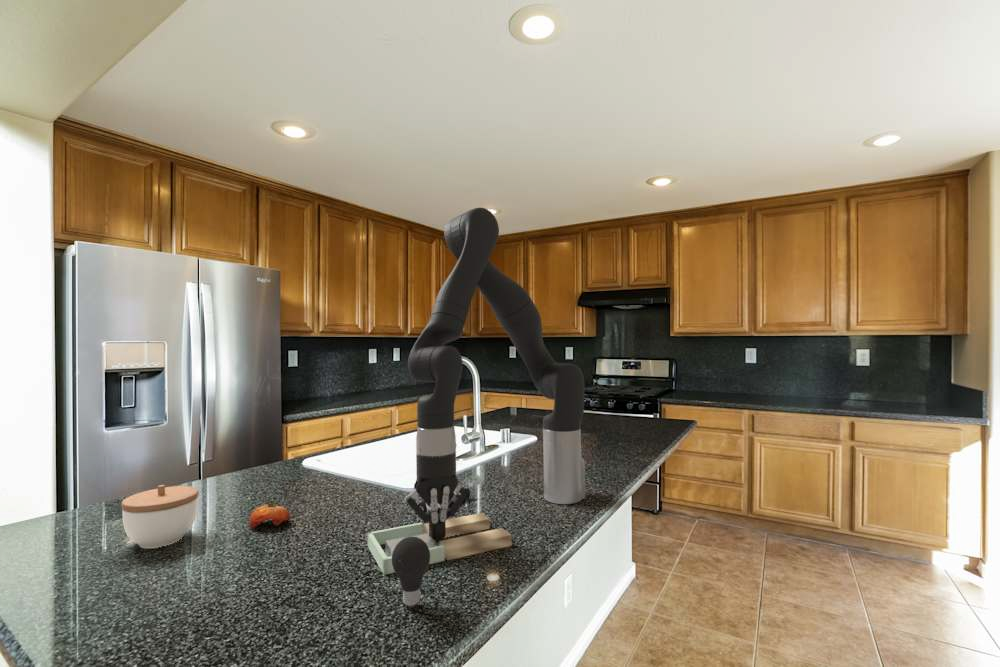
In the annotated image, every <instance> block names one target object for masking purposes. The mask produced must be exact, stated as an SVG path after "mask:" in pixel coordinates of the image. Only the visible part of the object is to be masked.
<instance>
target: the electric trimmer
mask: <svg viewBox="0 0 1000 667" xmlns="http://www.w3.org/2000/svg"><path fill="white" fill-rule="evenodd" d="M466 488H467V487H466ZM467 489H468V490H469V493H468V494H467V496H466V498H465V499H464V501H466V500H468V499H469V498H470V497H471V489H470V488H469V487H468V488H467ZM453 496H454V492H453V494H452V496H451V497H450V499H449V500H448V503H449V502H450V500H451V499H452V497H453ZM417 504H418V505H419V506H420V508H421V509H422V510H423V511H424V512H425V513H427V507H426V503H425V502H424V501H423V500H422V501H421V502H418V503H417ZM414 514H415V515H416V516H418V515H417V514H416V513H415V512H414Z"/></svg>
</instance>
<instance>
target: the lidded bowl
mask: <svg viewBox="0 0 1000 667" xmlns="http://www.w3.org/2000/svg"><path fill="white" fill-rule="evenodd" d="M199 494H200V493H199V489H198V488H196V487H195V486H194V487H193V486H189V485H176V486H174V485H173V486H166V484H161V485H157V488H154V489H148V490H145V491H141V492H137V493H135V494H132V495H130V496H128V497H126V498H124V499H123V500H122V501H121V510H122V511H121V512H122V523H123V528H124V531H125V534H126V535H127V537H128V538H129V539H130V540H131V541H132V542H133V543H135V544H136V545H138V546H139V547H140V548H141V549H145V550H146V549H148V550H149V549H150V550H151V549H159V547H160V548H163V547H162V546H164V547H167V545H168V546H171V545H173V543H174V544H176V543H178V542H180V541H181V540H183V538H184V536H185V535H186V534H187V533H188V532H189V531H190V530H191V527H193V525H194V523H195V520H196V517H197V513H198V503H199V501H198V500H199ZM182 537H183V538H182ZM180 539H181V540H180ZM179 540H180V541H179ZM177 541H178V542H177ZM175 542H176V543H175ZM170 544H171V545H170Z"/></svg>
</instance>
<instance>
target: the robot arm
mask: <svg viewBox="0 0 1000 667" xmlns="http://www.w3.org/2000/svg"><path fill="white" fill-rule="evenodd" d="M443 229H444V230H443V236H444V241H445V242H446V243H445V244H446V245H447V248H448V249H449V251H450V252H451V254H452V255H453V257H454V258H455V259H456V260H457V262H456V263H455V266H454V267H453V269H452V271H451V272H450V274H448V276H447V278H446V280H445V281H444V283H443V284H442V285H441V287H440V289H439V291H438V293H437V296H436V298H435V301H434V304H433V306H432V310H431V314H430V317H429V321H428V322H427V324H426V326H425V327H424V329H423V330H422V331H421V333H420V335H419V337H418V338H417V340H416V341H415V343H414V344H413V347H412V348H411V350H410V353H409V355H408V360H407V369H408V371H409V372H408V373H409V374H410V376H411V377H412V380H415V381H417V382H423V383H436V384H435V387H434V390H433V392H432V393H429V394H425V395H423V396H420V397H419V399H418V400H417V403H416V404H417V413H416V414H417V417H416V418H417V420H416V423H417V425H416V426H417V428H416V429H417V430H416V438H415V440H416V441H415V442H416V443H415V444H416V445H415V446H416V447H415V449H416V450H415V452H416V457H415V458H416V459H415V460H416V480H415V483H414V485H413V487H414V488H413V490H411V492H410V493H408V494H405V495H404V496H403V500H404V502H405V503H407V505H408V506H409V507H410V508H411V509H412V511H413V512H414V514H415V513H416V514H417V515H416V514H415V515H416V516H418V518H420V519H421V520H422V521H423V522H424V523H427V522H428V523H429V535H430V537H431V538H432V539H433V540H434V544H436V543H440V541H443V540H444V539H446V538H445V535H446V532H445V531H446V530H445V529H446V527H445V522H446V520H447V519H450V518H453V517H454V516H455V515H456V513H457V512H458V511H459V509H460V507H461V505H462V504H463V503H464V501H465V500H464V499H465V498H466V496H467V494H468V493H469V490H470V489H469V490H468V489H467V487H465V486H464V485H461V484H459V479H458V477H457V438H456V431H455V403H456V402H455V401H456V397H457V394H458V393H457V392H458V388H459V386H460V381H461V379H462V374H463V364H464V362H463V359H462V355H461V352H460V351H459V350H458V348H456V347H455V346H453V345H446V344H448V343H451V342H454V341H456V340H457V341H458V339H460V337H462V335H463V332H464V329H465V325H466V322H467V318H468V313H469V311H470V307H471V304H472V300H473V297H474V295H475V292H476V289H478V290H479V292H480V293H481V295H482V296H483V297H484V299H485V301H486V303H487V304H488V305H489V307H490V308H491V309H490V310H492V312H493V314H494V316H495V318H496V319H497V321H498V322H499V324H500V326H501V328H502V329H503V330H504V332H505V333H506V335H507V336H508V337H509V339H510V341H511V343H512V344H513V346H514V348H515V349H516V351H517V352H518V354H519V356H520V357H521V360H522V361H523V363H524V364H525V366H526V369H527V370H528V373H529V375H530V377H531V379H532V382H533V384H534V386H535V388H536V390H537V391H538V392H539V393H540V395H542V396H543V397H544V398H546V399H549V400H554V404H553V410H552V412H551V413H549V414H546V415H545V416H544V417H543V419H542V442H543V443H542V444H543V445H542V447H543V448H542V450H543V455H542V456H543V499H544V500H545V501H547V502H549V503H552V504H556V505H557V504H558V505H572V504H577V503H579V502H581V501H582V500H585V499H586V471H585V470H586V468H585V467H586V466H585V465H586V463H585V459H584V458H582V435H581V433H582V431H581V429H582V428H581V424H582V421H583V417H584V413H585V389H586V388H585V387H586V386H585V378H584V374H583V372H582V370H581V368H580V367H579V366H578V365H576V364H573V363H567V362H565V363H563V362H556V361H555V360H554V358H553V356H551V354H550V352H549V351H548V349H547V347H546V345H545V342H544V339H543V326H542V324H543V323H542V318H541V314H540V312H539V310H538V308H537V306H536V304H535V303H534V301H533V299H532V298H531V296H530V295H529V292H527V290H526V289H525V288H524V287H522V285H520V284H519V283H518V282H517V281H515V280H513V279H512V278H510V277H509V276H508V275H506V274H504V273H503V272H502V271H500V270H499V269H498V268H497V267H496V266H495V265H494V264H493V263H492V262H491V260H490V257H491V256H492V253H493V251H494V249H495V247H496V244H497V242H498V239H499V235H500V228H499V223H498V220H497V219H496V216H495V215H494V214H493V213H492V212H491V211H490V210H488V208H485V207H475V208H472V209H469V210H467V211H466V212H464V213H462V214H460V215H458V216H456V217H454V218H452V219H450V220H449V221H447V223H446V224H445V226H444V228H443ZM453 492H454V496H453V497H452V499H451V500H450V502H449V503H448V500H449V499H450V497H451V496H452V494H453ZM418 496H419V497H420V498H421V499H422V502H423V501H424V502H425V503H426V507H427V513H425V512H424V511H423V510H422V509H421V508H420V506H419V505H418V504H419V501H420V500H419V499H420V498H419V497H418Z"/></svg>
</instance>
